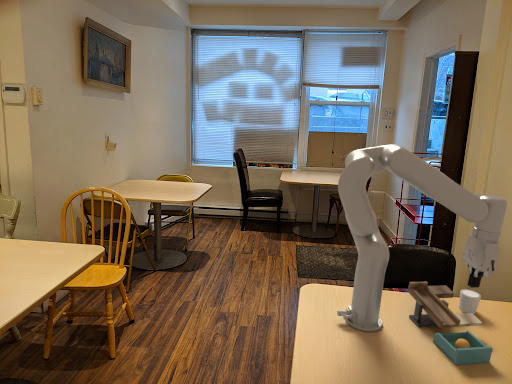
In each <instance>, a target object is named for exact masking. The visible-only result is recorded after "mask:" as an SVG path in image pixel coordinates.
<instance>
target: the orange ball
mask: <svg viewBox="0 0 512 384" xmlns="http://www.w3.org/2000/svg"><path fill="white" fill-rule="evenodd" d="M455 345H456V348H457V349H459V348H470V344H469V342H468V341H467V340H465V339H458V340H457V341H456V343H455Z"/></svg>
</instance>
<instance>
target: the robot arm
mask: <svg viewBox="0 0 512 384" xmlns="http://www.w3.org/2000/svg"><path fill="white" fill-rule="evenodd" d="M344 166H345V167H344V168H343V170H342V171H341V174H340V175H339V178H338V180H337V181H338V183H337V191H338V195H339V199H340V202H341V204H342V207H343V211H344V213H345V214H344V216H345V220H346V222H347V225H348V229H349V231H350V234H351V236H352V238H353V241H354V243H355V244H354V245H355V247H356V250H357V255H358V256H357V262H356V268H355V273H354V280H353V281H354V283H353V288H352V289H353V290H352V297H351V305H348V308H347V309H345V310H343V309H340V310H339V309H338V310H337V311H336V315H337V317H342V318H343V320H345V321H346V322H347V324H348V325H349V326H350V327H352V328H354V329H356V330H357V331H358V330H359V331H362V332H368V333H370V332H377V331H379V330H380V329H382V328H383V323H384V322H383V320H382V318H381V317H380V316H379V315H380V311H381V303H382V297H383V289H384V282H385V275H386V272H387V271H386V270H387V267H388V263H389V262H390V261H389V260H390V250H389V247H388V245H387V243H386V241H385V239H384V238H383V236H382V234H381V232H380V231H381V230H380V229H379V226H378V222H377V221H378V220H377V215H376V212H375V211H374V209H373V207H372V204H371V202H370V199H369V195H368V192H367V188H366V185H367V182H368V181H369V179H371V177H372V176H373V174H374V172H375V173H376V172H381V171H386V170H387V171H388V172H390V173H391V174H392V175H394V176H395V177H397V178H399V179H400V180H402V181H404V183H406V184H408V185H410V186H411V187H412V188H414V189H415V190H417V191H419V192H420V193H422V195H424V196H425V197H428V198H429V199H432V200H434V201H435V202H437V203H439V204H440V205H442V206H444V207H445V208H446V209H448V210H450V212H453V213H454V214H456V215H457V216H458V217H460V218H461V219H462V220H465V221H466V222H468V223H471V224H472V223H473V225H472V229H471V230H472V231H471V233H469V235H468V237H467V238H466V241H465V244H464V247H463V250H462V255H461V260H462V261H463V262H464V263H465V265H466V266H467V267H468V274H469V275H468V280H467V286H469V287H470V288H471V289H473V288H475V289H476V288H480V285H481V281H482V278H484V277H486V278H489V277H490V278H491V277H492V275H493V274H492V273H493V272H495V270H496V267H497V263H498V258H499V252H500V250H499V249H500V242H499V240H500V236H501V232H502V228H503V224H504V221H505V216H506V212H507V208H508V201H507V199H505V198H504V197H501V196H497V195H491V194H483V195H482V194H478V193H474V192H473V193H472V192H471V191H469V190H468V189H466V188H464V187H463V186H461V185H460V184H459V183H457V182H455V181H454V180H453V179H452V178H450V177H449V176H447V175H446V174H445V173H443V172H442V171H440V170H439V169H438V168H436V167H434V166H433V165H432V164H430V163H428V162H427V161H426V160H424V159H422V158H421V157H419V155H418V156H417V155H416V154H415V153H413V152H411V151H410V150H409V149H407V148H406V147H403V146H401V145H399V144H396V143H395V144H393V143H392V144H385V145H378V146H374V147H373V146H372V147H365V148H360V149H359V148H358V149H355V150H352V151H350V152H349V153H348V154H347V155H346V157H345V159H344Z"/></svg>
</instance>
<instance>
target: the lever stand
mask: <svg viewBox="0 0 512 384" xmlns="http://www.w3.org/2000/svg"><path fill="white" fill-rule="evenodd" d="M440 300H441V299H440ZM441 301H442V302H443V303H444V304H445V305H446V306H447V307H448V308H449V302H447V301H446V299H443V300H441ZM423 310H424V309H423V304H422V303H421V302H420V301H416V300H415V307H414V313H413V314H409V316H408V318H409V319H410V320H411V321H412V322H413V323H414V324H415V325H416V326H417V328H432V327H439V326H438V325H437V324H436V323H435V322H434V321H433V320H432V319H431V317H430V316H429V315H428V314H427V313H423ZM422 313H423V314H422Z"/></svg>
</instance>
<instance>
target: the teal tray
mask: <svg viewBox="0 0 512 384" xmlns="http://www.w3.org/2000/svg"><path fill="white" fill-rule="evenodd" d="M458 339H465V340H467V341H468V342H469V344H470V348H459V349H457V348H456V345H455V343H456V341H457V340H458ZM432 343H434V345H436V347H437V348H439V350H440V351H441V352H442V353H443V354H444V355H445V356H446V358H448V359H449V360H450V361H451V363H453V365H455V366H458V365H473V364H485V363H490V361H491V358H492V353H493V347H492V346H490V345H489V346H488V345H486V344H485V343H483V342H482V340H480V339H479V338H478V337H477V336H476V335H474V334H473V333H472V332H471V331H469V330H466V331H462V332H460V331H459V332H448V333H447V332H445V333H440V332H436V333H434V336H433V340H432Z"/></svg>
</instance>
